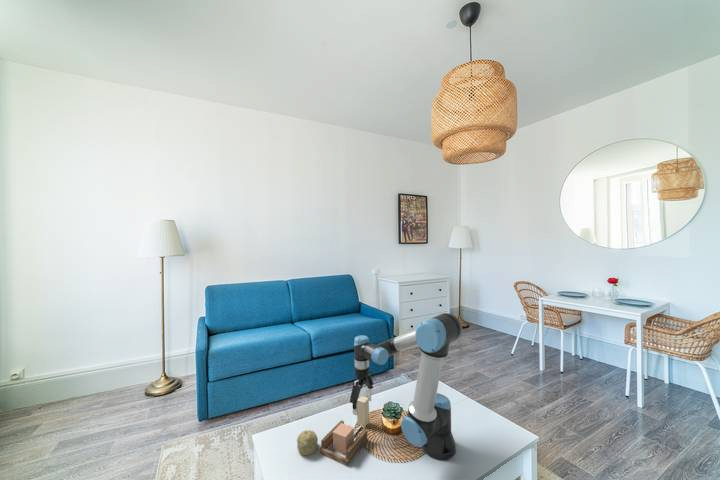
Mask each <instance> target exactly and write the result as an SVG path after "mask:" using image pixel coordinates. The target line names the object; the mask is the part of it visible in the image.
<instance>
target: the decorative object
mask: <svg viewBox="0 0 720 480" xmlns="http://www.w3.org/2000/svg"><path fill="white" fill-rule="evenodd" d="M318 439H319V438H318V435H317V434H316V432H315V431H313V430H310V429H308V430H306V429H305V430H303V431H302V432H300V433H299V434H298V435H297V437H296V444H297V452H298V453H299V455H301V456H303V457H305V456H309V455H312V454H314V453H315V452H316V451H317V449H318Z"/></svg>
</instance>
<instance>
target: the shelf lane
mask: <svg viewBox="0 0 720 480" xmlns="http://www.w3.org/2000/svg"><path fill="white" fill-rule="evenodd" d="M341 423H343V424H345V421H344V420H342V419H341V420H340V421H339V422H337V424H336V425H335V426H333V428H332V429H331V430H330V431H329V432H327V434H326V435H325V436H324V437H323V438H322V439H321V440H320V442H321V443H320V448H319V453H320V454H322V455H323V456H326V457H327V458H329V459H332V460H334V461H336V462H338V463H340V464H342V465H345V466H347V467H348V466H349V465H350V464H351V462H352V461H353V460H354V458H355V457H356V456H357V454H359V452H360V451H361V449H362V448H363V446H365V445H366V443H367V442H366V441H368V429H367V428H363V430H362V431H361V433H359V435H358V436H357V437H356V438H355V439H354V442H353V443H352V444H351V446H350V447H349V448H348V449H347V450H346V455H345V457H344V456H343V455H340V454H338V453H336V452H333V451H332V450H330V449H329V448H330V447H331V446H332V445H333V431H334V430H335V429H336V428H337V427H338V426H339V425H340V424H341Z"/></svg>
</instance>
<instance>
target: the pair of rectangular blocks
mask: <svg viewBox="0 0 720 480" xmlns="http://www.w3.org/2000/svg"><path fill="white" fill-rule="evenodd" d="M357 402H358V416H357V415H356V419H357V421H356V422H357V424H356V425H357V426H358V425H360V426H358V427H357V428H356V429H355V428H354V427H352V426H351V425H348V424H345V423H344V424H343V423H341V424H340V425H339V426H338V427H337V428H336V429H335V430H334V431H333V443H332V450H334V451H335V452H338V453H341V454H343V455H345V456H346V450H347V449H348V448H349V447H350V446H351V444H352V443H353V442H354V441H355V436H356V435H357V434H358V433H359V431H360V430H361V429H362V428H363V427H366V425H367V424H368V423H369V424H370V401H369V398H366V396H362V395H360V397H358V400H357ZM369 424H368V425H369ZM368 425H367V426H368ZM362 426H363V427H362ZM361 427H362V428H361ZM360 428H361V429H360ZM366 428H367V427H366ZM359 429H360V430H359ZM358 430H359V431H358ZM357 432H358V433H357ZM356 433H357V434H356Z"/></svg>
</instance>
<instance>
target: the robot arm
mask: <svg viewBox="0 0 720 480" xmlns="http://www.w3.org/2000/svg"><path fill="white" fill-rule="evenodd" d="M462 333H463V324H462V321H460V318H458V317H457V316H456V315H454V314H452V313H448V312H446V313H443V312H442V313H440V314H438V315H436V316H433V317H429V318H427V319H425V320H423V321H421V322H420V323H419V324H418V326H417V327H416V328H415V329H412V330H410V331H408V332H405V333H403V334H400V335H398V336H394V337H392V338H389V339H387V340H385V341H383V342H380V343H378V344H373V343H371V342H370V339H369V336H367V335H357V336H355V337H354V341H353V342H354V343H353V346H354V351H353V352H354V375H355V377H356V380H353V382H352V389H351V394H350V399H349V403H351V404H352V415H354V416H356V417H357V416H358V402H357V400H358V399H359V398H360V397H359V396H360V394H361V391H362V389H363V386H364V385H365V386H366V389H365V394H366V396H365V397H366V398H369V402H372V389H373V388H374V381H373V378H372V375H371V370H370V362H372V363H375V364H377V365H385V364H386V362H387V361H388V359H389V358H390V357H391V356H393V355H396V354H399V353H402V352H405V351H407V350H411V349H413V348H417V347H418V350H419V351H420V352H421V353H420V359H419V365H418V372H417V378H416V383H415V389H414V396H413V400H411V401H410V402H409V405H408V409H407V414H406V415H405V416H404V417H402V419H401V421H400V427H401V431H402V434H403V435H404V438H405V439H406V440H407V441H408V442H409V443H410V444H412V445H413V446H415V447H416V448H419V447H420V448H422V450H423V451H424V453H425V454H426V455H427V456H429V457H430V458H432V459H435V460H439V461H446V460H450V459H451V458H453V457H454V456H455V455H456V452H457V446H456V445H457V444H456V442H455V439H454V436H453V432H452V405H451V401H450V398H448V397H447V396H446V395H444V394H442V393H439V392H438V388H439V382H440V376H441V371H442V366H443V361H444V359H445V358H448V356H449V350H450V346H451V344H452V343H454V342H455V341H456V340H458V339H459V338H460V337H461V335H462Z"/></svg>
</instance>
